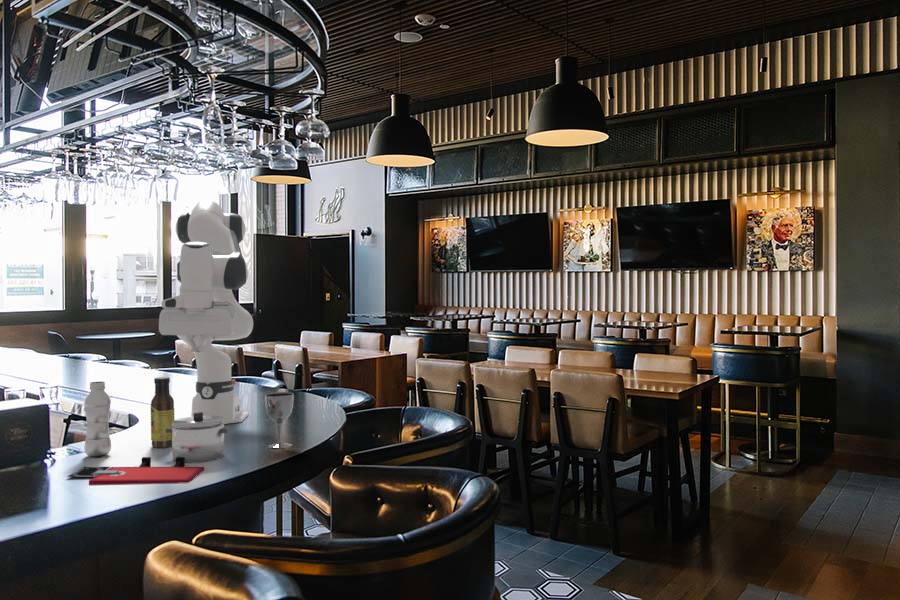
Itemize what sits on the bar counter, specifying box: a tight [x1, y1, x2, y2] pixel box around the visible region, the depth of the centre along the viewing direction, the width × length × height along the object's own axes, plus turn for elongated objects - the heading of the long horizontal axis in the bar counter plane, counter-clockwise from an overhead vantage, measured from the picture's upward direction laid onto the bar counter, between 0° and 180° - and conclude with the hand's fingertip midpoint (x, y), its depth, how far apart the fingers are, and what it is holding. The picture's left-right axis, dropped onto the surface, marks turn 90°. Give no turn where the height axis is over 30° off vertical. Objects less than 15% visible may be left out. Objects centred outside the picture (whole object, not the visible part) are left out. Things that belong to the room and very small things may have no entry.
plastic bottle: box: [83, 381, 112, 457], centre depth 178 cm, size 6×7×20 cm
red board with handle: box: [66, 456, 205, 485], centre depth 158 cm, size 30×3×15 cm
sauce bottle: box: [150, 376, 175, 449], centre depth 189 cm, size 6×6×20 cm
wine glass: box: [264, 391, 295, 449], centre depth 188 cm, size 8×8×15 cm
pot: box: [166, 423, 232, 464], centre depth 177 cm, size 14×17×8 cm
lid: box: [172, 412, 224, 429], centre depth 176 cm, size 13×13×3 cm
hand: (197, 351), depth 179 cm, fingers closed
